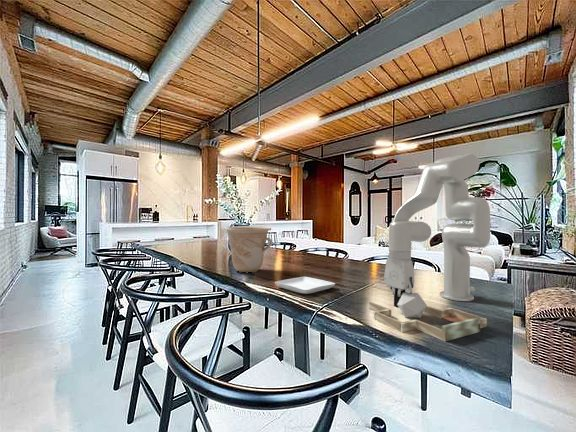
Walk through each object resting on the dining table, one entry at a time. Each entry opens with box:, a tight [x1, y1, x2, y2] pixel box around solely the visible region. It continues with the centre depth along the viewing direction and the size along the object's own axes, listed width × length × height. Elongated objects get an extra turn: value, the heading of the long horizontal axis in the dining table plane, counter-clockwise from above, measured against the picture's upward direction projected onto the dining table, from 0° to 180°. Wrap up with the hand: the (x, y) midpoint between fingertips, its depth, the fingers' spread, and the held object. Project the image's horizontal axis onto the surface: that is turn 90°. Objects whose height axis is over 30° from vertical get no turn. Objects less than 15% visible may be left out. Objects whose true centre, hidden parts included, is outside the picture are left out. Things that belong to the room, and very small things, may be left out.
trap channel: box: [368, 301, 488, 342], centre depth 96 cm, size 28×30×4 cm
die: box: [397, 292, 428, 319], centre depth 98 cm, size 8×9×10 cm
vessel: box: [224, 225, 273, 274], centre depth 177 cm, size 29×29×30 cm
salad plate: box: [274, 276, 336, 295], centre depth 135 cm, size 21×21×3 cm
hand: (398, 306), depth 103 cm, fingers closed
